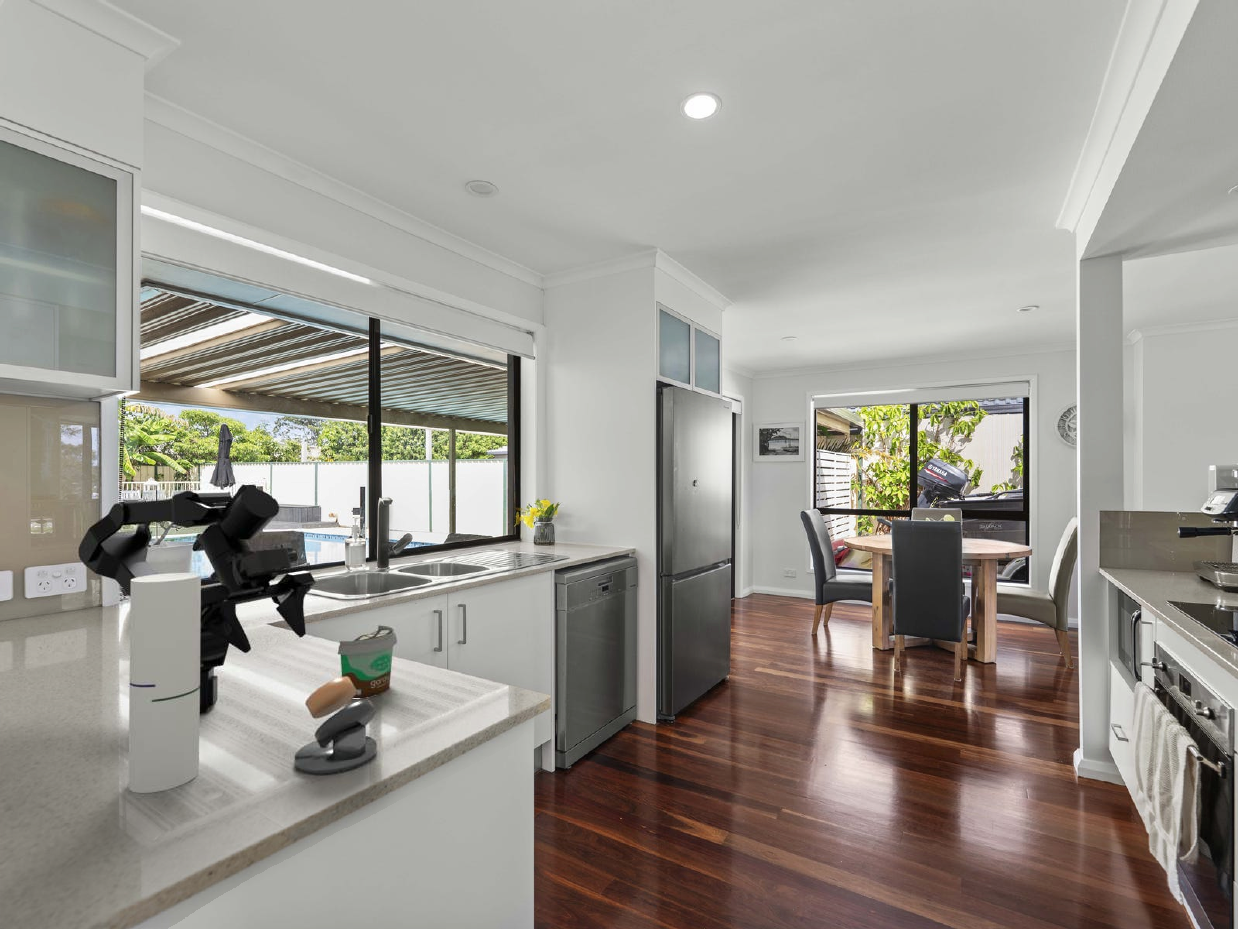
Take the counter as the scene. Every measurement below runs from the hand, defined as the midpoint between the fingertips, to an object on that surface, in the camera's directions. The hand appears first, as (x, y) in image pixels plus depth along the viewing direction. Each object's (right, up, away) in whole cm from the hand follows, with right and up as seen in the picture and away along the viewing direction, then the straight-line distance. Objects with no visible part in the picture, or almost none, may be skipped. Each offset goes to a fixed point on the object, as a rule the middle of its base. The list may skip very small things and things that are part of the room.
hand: (276, 643), depth 94 cm
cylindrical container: (-6, -13, -15) cm, 21 cm away
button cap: (+12, -8, -9) cm, 17 cm away
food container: (+8, -13, +16) cm, 23 cm away
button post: (+13, -13, -9) cm, 20 cm away
